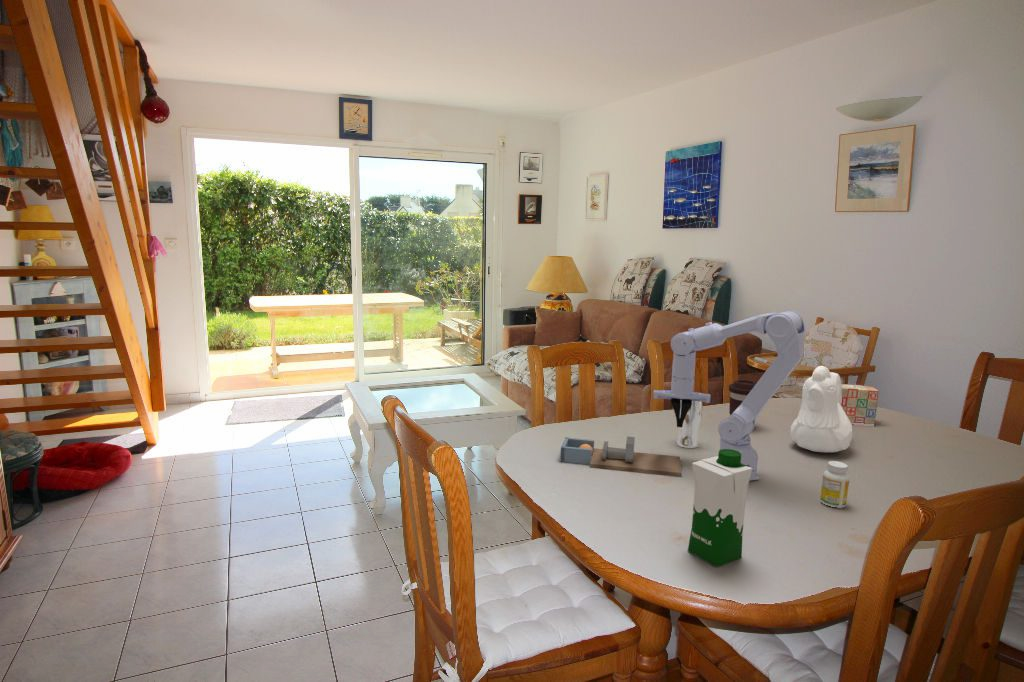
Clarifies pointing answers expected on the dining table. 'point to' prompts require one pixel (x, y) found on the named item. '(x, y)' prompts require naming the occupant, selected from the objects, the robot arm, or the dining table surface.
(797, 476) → the dining table surface
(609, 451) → the grey h-shaped block
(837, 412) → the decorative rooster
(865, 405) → the stack of blocks
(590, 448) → the ball
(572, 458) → the cup
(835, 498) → the supplement bottle
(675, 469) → the launcher board
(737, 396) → the coffee cup
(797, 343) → the robot arm
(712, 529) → the milk carton
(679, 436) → the silver soda can
